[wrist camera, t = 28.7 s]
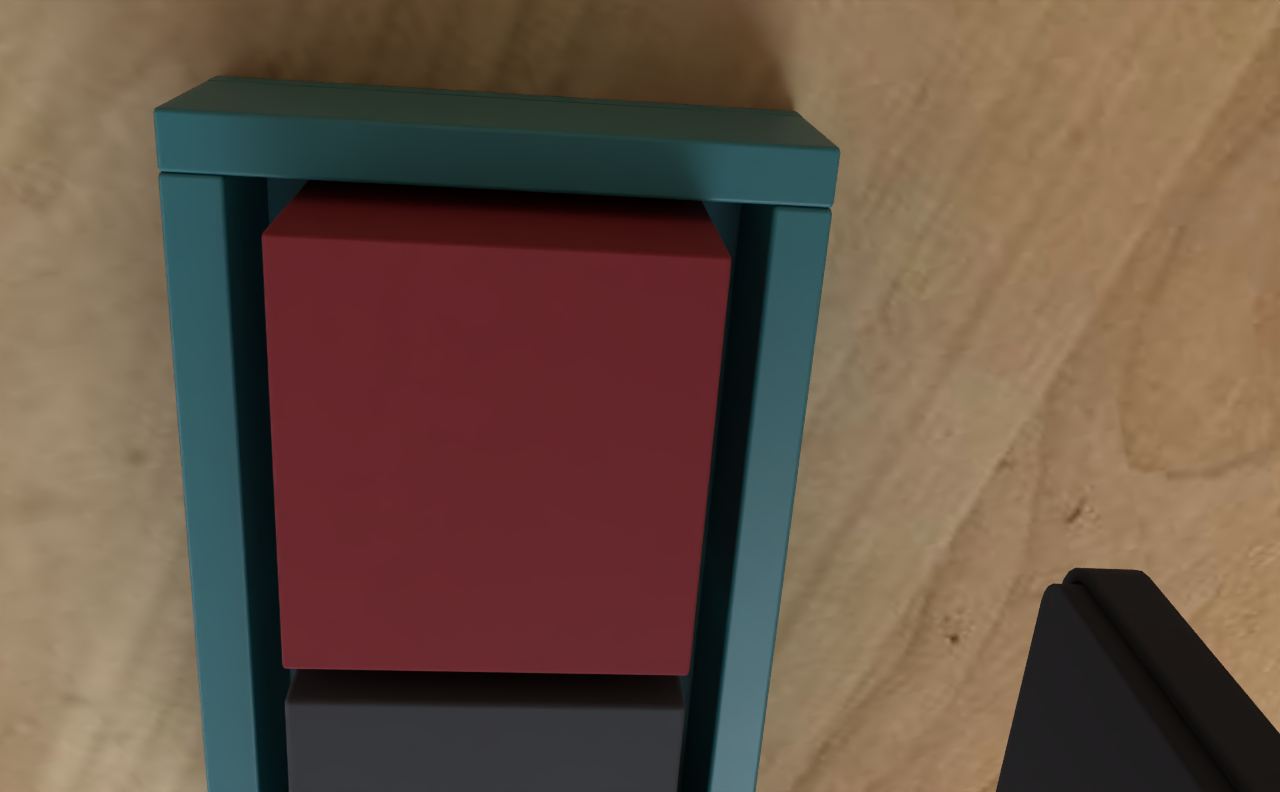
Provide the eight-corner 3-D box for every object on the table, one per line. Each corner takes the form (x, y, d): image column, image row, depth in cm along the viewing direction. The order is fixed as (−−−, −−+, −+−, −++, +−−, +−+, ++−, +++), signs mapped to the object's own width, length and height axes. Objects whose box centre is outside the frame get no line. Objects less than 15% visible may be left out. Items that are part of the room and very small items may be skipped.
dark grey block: (332, 553, 20) (283, 701, 16) (661, 562, 20) (686, 706, 17) (340, 837, 22) (298, 1024, 18) (636, 839, 23) (654, 1020, 19)
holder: (214, 75, 17) (152, 107, 15) (797, 110, 18) (842, 148, 15) (261, 860, 23) (223, 992, 20) (709, 861, 24) (730, 988, 21)
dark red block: (321, 163, 18) (261, 232, 14) (694, 183, 18) (732, 256, 14) (331, 526, 20) (281, 669, 16) (663, 536, 20) (689, 677, 17)
